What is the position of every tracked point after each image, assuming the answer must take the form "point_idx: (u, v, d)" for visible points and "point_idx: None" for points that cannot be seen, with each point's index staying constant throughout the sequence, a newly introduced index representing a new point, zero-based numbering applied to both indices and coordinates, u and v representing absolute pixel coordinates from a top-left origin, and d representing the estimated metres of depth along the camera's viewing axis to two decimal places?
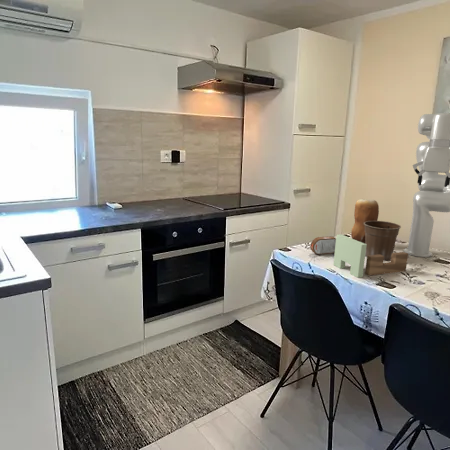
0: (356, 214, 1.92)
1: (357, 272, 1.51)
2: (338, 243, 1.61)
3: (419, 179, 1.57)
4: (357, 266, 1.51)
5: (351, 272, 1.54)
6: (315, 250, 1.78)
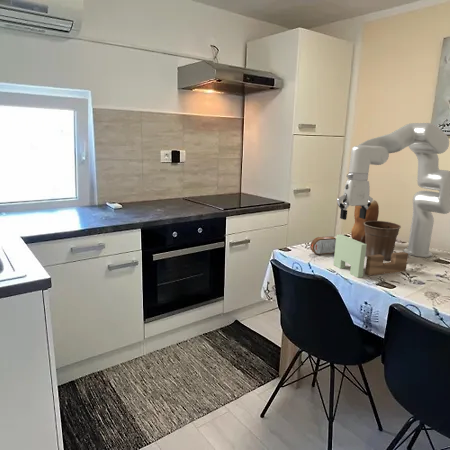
0: (356, 214, 1.92)
1: (357, 272, 1.51)
2: (338, 243, 1.61)
3: None
4: (357, 266, 1.51)
5: (351, 272, 1.54)
6: (315, 250, 1.78)
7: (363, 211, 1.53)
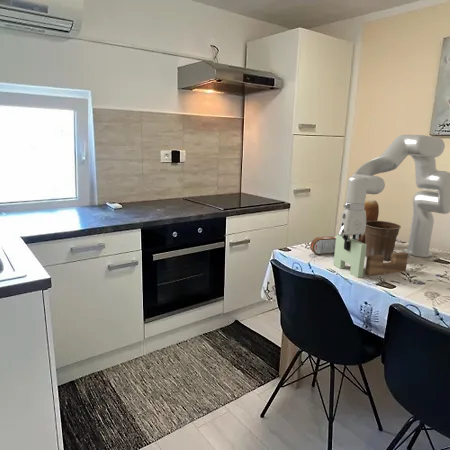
0: None
1: (357, 272, 1.51)
2: (338, 243, 1.61)
3: None
4: (357, 266, 1.51)
5: (351, 272, 1.54)
6: (315, 250, 1.78)
7: None
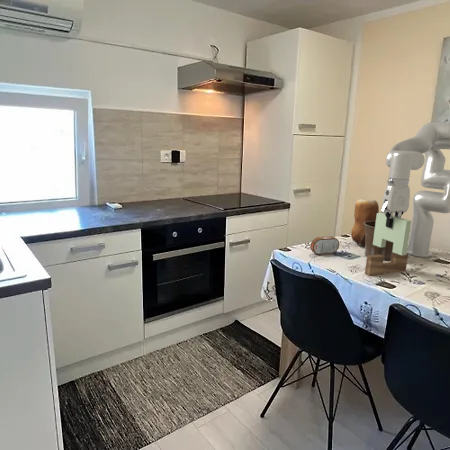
0: (356, 214, 1.92)
1: (401, 249, 1.48)
2: (379, 221, 1.58)
3: None
4: (401, 243, 1.47)
5: (394, 250, 1.51)
6: (315, 250, 1.78)
7: None
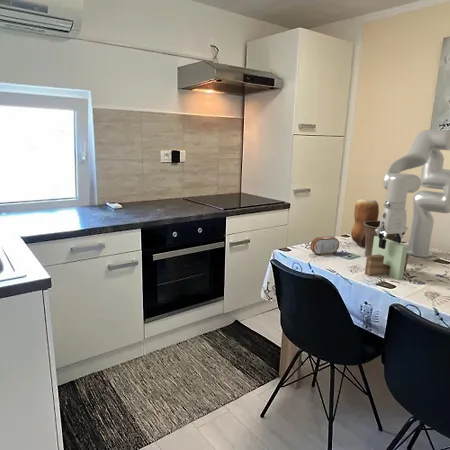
0: (356, 214, 1.92)
1: (397, 273, 1.50)
2: (376, 245, 1.61)
3: None
4: (397, 268, 1.50)
5: (390, 274, 1.54)
6: (315, 250, 1.78)
7: (397, 240, 1.55)
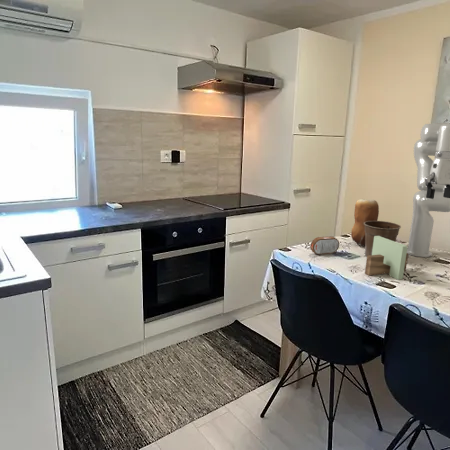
0: (356, 214, 1.92)
1: (397, 273, 1.50)
2: (376, 245, 1.61)
3: None
4: (397, 268, 1.50)
5: (390, 274, 1.54)
6: (315, 250, 1.78)
7: (449, 190, 1.53)
